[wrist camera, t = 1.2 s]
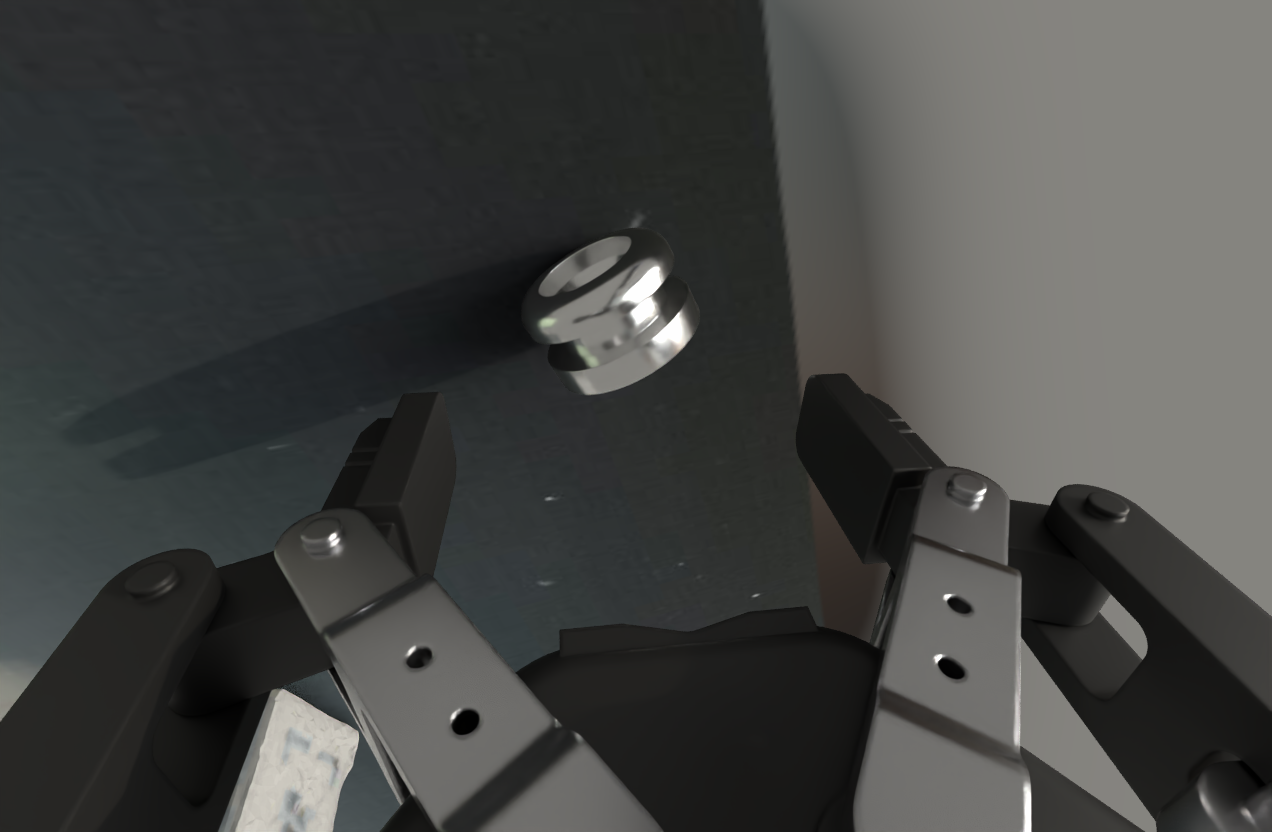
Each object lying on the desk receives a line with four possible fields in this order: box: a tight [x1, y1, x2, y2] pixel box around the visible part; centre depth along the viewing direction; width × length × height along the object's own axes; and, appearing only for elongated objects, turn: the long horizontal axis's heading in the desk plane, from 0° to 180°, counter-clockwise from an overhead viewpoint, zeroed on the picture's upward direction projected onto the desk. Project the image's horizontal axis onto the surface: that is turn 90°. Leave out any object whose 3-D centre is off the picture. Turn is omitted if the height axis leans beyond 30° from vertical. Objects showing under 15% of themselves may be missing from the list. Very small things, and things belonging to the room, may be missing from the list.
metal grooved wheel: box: [521, 228, 700, 395], centre depth 18 cm, size 5×3×5 cm, turn 117°
